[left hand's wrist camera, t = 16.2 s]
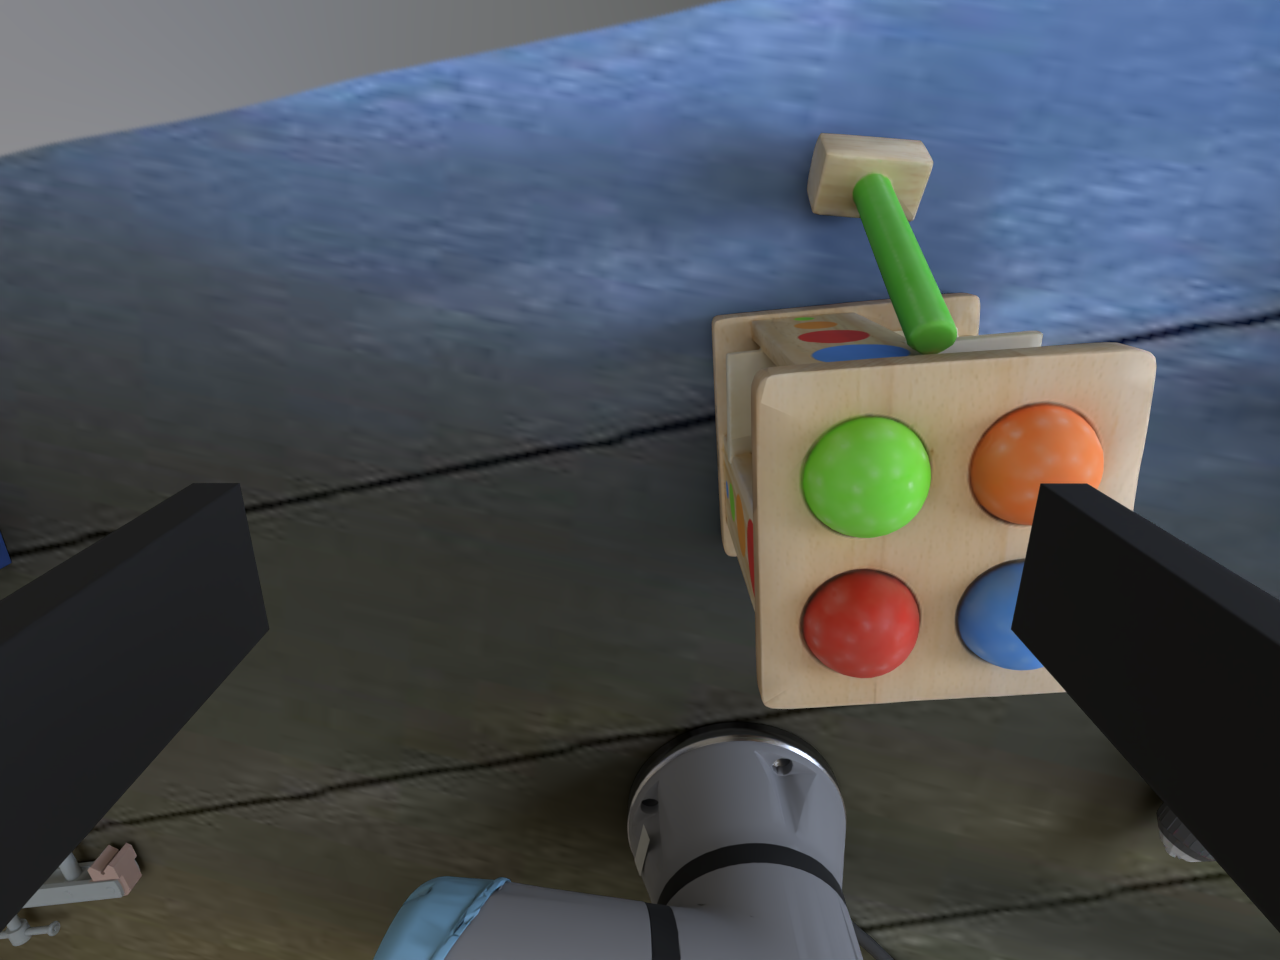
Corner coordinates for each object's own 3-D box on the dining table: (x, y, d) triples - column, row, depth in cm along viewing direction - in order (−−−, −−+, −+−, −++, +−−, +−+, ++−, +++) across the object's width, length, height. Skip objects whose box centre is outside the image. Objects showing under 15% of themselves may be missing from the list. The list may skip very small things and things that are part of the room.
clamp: (94, 835, 50) (148, 938, 54) (116, 811, 53) (166, 911, 56) (-109, 859, 51) (-43, 958, 55) (-80, 833, 53) (-18, 931, 57)
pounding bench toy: (703, 145, 37) (754, 92, 21) (983, 121, 37) (1267, 47, 20) (720, 548, 45) (768, 747, 29) (951, 532, 45) (1137, 724, 28)
